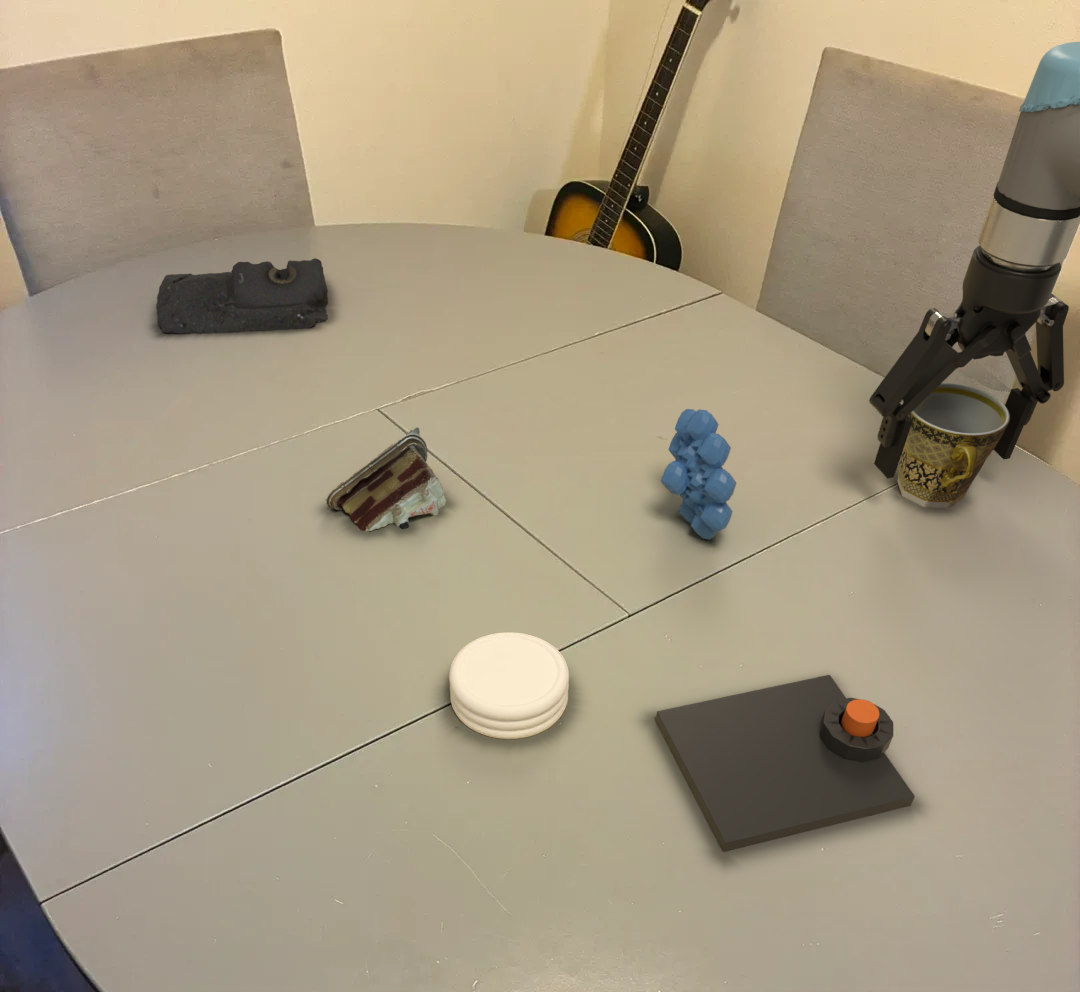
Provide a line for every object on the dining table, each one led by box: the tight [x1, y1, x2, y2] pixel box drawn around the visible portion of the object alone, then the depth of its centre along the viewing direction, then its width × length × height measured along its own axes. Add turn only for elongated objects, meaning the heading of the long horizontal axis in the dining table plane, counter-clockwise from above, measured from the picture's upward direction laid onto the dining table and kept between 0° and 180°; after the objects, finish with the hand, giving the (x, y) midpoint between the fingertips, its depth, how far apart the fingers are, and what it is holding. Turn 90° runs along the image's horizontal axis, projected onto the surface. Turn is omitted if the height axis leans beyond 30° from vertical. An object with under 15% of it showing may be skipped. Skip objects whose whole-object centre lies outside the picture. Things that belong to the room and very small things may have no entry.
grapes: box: [660, 408, 737, 540], centre depth 101 cm, size 12×7×12 cm, turn 18°
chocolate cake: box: [324, 427, 447, 532], centre depth 105 cm, size 10×7×12 cm
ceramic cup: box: [896, 382, 1010, 509], centre depth 105 cm, size 13×10×10 cm
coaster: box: [448, 631, 570, 740], centre depth 87 cm, size 10×10×4 cm
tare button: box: [841, 698, 879, 737], centre depth 82 cm, size 3×3×2 cm
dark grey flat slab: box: [655, 674, 916, 853], centre depth 83 cm, size 17×14×3 cm
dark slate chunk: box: [155, 257, 329, 335], centre depth 134 cm, size 15×22×5 cm
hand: (942, 461), depth 106 cm, fingers open, 13 cm apart
